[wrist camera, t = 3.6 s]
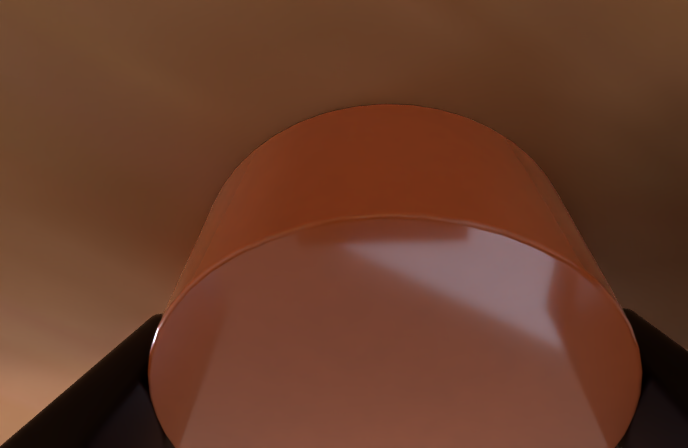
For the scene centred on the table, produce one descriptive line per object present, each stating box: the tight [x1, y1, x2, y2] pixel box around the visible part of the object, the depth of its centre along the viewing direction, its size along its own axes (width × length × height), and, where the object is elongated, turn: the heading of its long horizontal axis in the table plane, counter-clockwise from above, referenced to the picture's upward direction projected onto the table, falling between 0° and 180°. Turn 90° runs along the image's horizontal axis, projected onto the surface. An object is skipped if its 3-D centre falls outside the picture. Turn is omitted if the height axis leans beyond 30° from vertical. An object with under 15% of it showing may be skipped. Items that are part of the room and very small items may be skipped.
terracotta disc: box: [147, 104, 642, 448], centre depth 8 cm, size 6×6×3 cm
